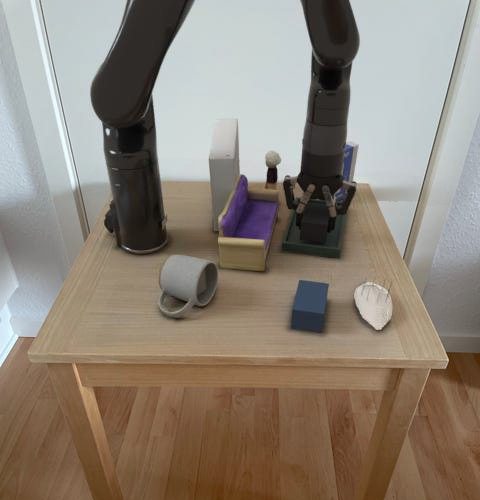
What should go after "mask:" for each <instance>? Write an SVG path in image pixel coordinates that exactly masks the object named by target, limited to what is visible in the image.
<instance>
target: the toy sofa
mask: <svg viewBox="0 0 480 500" xmlns="http://www.w3.org/2000/svg"><path fill="white" fill-rule="evenodd" d="M279 201H280V190H279V189H276V190H271V189H264V188H253V187H249V180H248V178H247V176H246V175H245V174H241V173H240V174H238V175H237V179H236V188H235V190H232V192H231V195H230V197H229V199H228V201H227V204H226V206H225V208H224V211H223V212H222V214H221V215H220V216H219V218H218V226H219V231H218V234H219V235H218V238H217V245H218V252H219V253H218V254H219V265H220V268H222V269H230V270H239V271H241V270H242V271H253V272H255V271H256V272H265V270H266V269H265V268H266V259H267V254H268V251H269V246H270V243H271V240H272V237H273V236H272V235H273V231H274V228H275V224H276V221H277V220H278V219H279V205H280V203H279Z"/></svg>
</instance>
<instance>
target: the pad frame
mask: <svg viewBox="0 0 480 500" xmlns="http://www.w3.org/2000/svg"><path fill="white" fill-rule="evenodd" d="M300 199H301V197H298V196H296V197H295V201H298V202H299V201H300ZM308 202H310V203H320V204H326V201H322V200H319V199H314V200H313V199H309V200H308ZM342 202H343V201H339V200H338V201H336V204H337V206H339V205H341V204H342ZM304 209H305V207H304ZM345 219H346V214H345V215H341V214H340V215H337V217H336V222H335V229H334V230H331V232H330V233H327V236H326V242H325V243H324V242H315V241H306V240H300V230H299V227H296V211H295V210H293V209H291V212H290V216H289V218H288V221H287V225H286V228H285V231H284V234H283V238H282V241H281V252H285V253H293V254H302V255H308V256H309V255H310V256H317V257H325V258H333V259H340V254H341V249H342V242H343V233H344V228H345V227H344V226H345Z"/></svg>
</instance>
